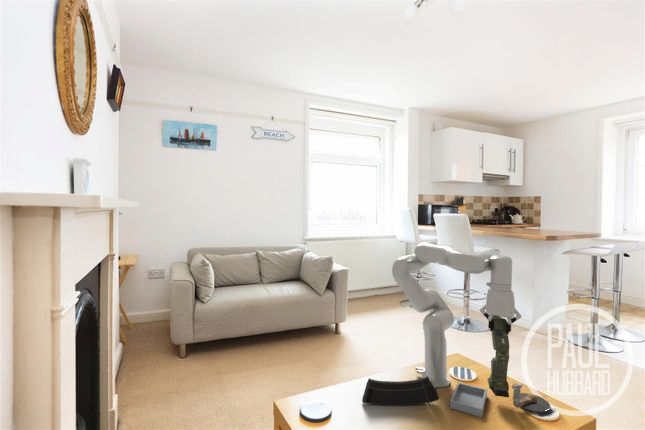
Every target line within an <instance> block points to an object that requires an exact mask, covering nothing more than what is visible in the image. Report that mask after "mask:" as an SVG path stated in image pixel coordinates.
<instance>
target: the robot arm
mask: <svg viewBox="0 0 645 430" xmlns="http://www.w3.org/2000/svg"><path fill="white" fill-rule="evenodd" d="M431 263H432V264H437V265H439V266H440V265H441V266H446V267H448V268H450V269H452V270H456V271H458V272H462V273H468V274H473V275H479V274H482V273H485V272H488V271H489V272H490V281H489V282H486V286H487V287H489V288H488V289H487V292H486V302H485V305H483V306H482V307H481V308H480V309H479V312H480V313H481V314H482V315H483V316H484V317H485V318H486V320H487V321H488V325H487V326H488V328H489V331H490V332H492V330H493V320H492V316H493V315H494V316H499V317H502V318H506V320H507V334H508V335H509V334H510V332H512V324H513V323H515V322H517V321H518V320H520V319H521V318H522V314H521V313H520V312H519V311H518V310H517V308H516V307H515V306H516V305H515V294H514V293H515V292H514V291H513V290H512V283H513V279H512V278H513V259H512V258H511V257H509V256H507V255H497V254H496V255H495V254H492V253H491V254H490V253H487V252H480V253H476V254H467V253H461V252H458V251H455V250H454V249H453V247H451V246H448V245H441V244H438V243H437V242H435V241H426V242H425V241H423V242H421V243H418V244H417V245H416V246H415V247H414V252H413V253H412V254H409V255H404V256H400V257H398V258H397V259H396V260H395V261H394V262H393V264H392V267H391V274H392V277H393V279H394V281H395V282H396V284H397V285H398V286H399V288H400V289H401V290H402V291H403V293H404V295H405V297H406V298H407V300H408V301H409V303H410V305H412V307H413V309H414V310H415V311H416V312H418V313H426V312H429V313H428V314H426V316H425V317H424V318H423V319H422V320H423V321H422V329H423V335H424V367H419V366H415V371H416V373H417V374H419V375H421V376H420V377H421V378H426V376H428V378H429V380H430V382H431V380H432V382H433V384H434V386H435V388H438V389H439V388H446V387H448V386H449V385H450V383H451V379H450V378H449V377H448V375H447V359H448V358H447V357H448V356H447V353H448V352H447V348H448V347H447V339H446V334H445V332H446V331H447V330H448V329H450V328H451V327H453V325H454V323H455V317H454V314H453V312H452V310H451V309H450V307H449V306H448V304H447V303H446V302H445V300H444V299H443V297H441V295H440V294H439V293H438V292H437V291H436V290H435V289H432V288H425V289H424V288H423V287H422V285H421V284H420V283H419V281H418V280H417V279H416V278H415V277H413V276H412V274H411V273H415V272H419V271H420V270H422V269H423V268H425V267H427V266H428V265H429V264H431ZM421 378H420V379H421Z"/></svg>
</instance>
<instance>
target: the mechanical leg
mask: <svg viewBox="0 0 645 430" xmlns="http://www.w3.org/2000/svg"><path fill="white" fill-rule="evenodd" d="M492 320H493V330H492V331H491V339H492V347H493V350H494V351H495V357H494V356H493V357H492V359H491V360H490V371H491V373H490V376H489V377H488V378H487V383H488V388H489V390H491V392H492V393H493V394H494V396H495V397H502V398H510V393H509V390H510V385H509V384H510V383H509V382H508V378H507V377H508V369H509V368H508V366H509V360H510V340H509V339H510V338H509V334H507V322H508V320H507V318H505V317H501V316H494V315H493V316H492Z"/></svg>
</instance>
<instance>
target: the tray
mask: <svg viewBox="0 0 645 430" xmlns="http://www.w3.org/2000/svg"><path fill="white" fill-rule="evenodd" d="M487 398H488V389H486V388H483V387H479V386H475V385H470V384H466V383H462V382H457V383H456V386H455V388H454V391H453V393H452V396H451V398H450V402H449V407H450V408H449V409H450V410H453V411H456V412H460V413H462V414H463V413H464V414H467V415H471V416H474V417H478V418H480V419H481V418H483V416H484V411H485V408H486V403H487Z"/></svg>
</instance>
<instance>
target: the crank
mask: <svg viewBox="0 0 645 430" xmlns="http://www.w3.org/2000/svg"><path fill="white" fill-rule="evenodd" d="M522 388H523V384H521V382H520V383H519V382H518V383H515V384H512V385H511V389H513V390H512V391H513V392H512V393H513V398H512V399H513V400H512V401H513V404H512V405H513V406H514V407H515V408H520V406H521V405H524V404H527V403H530V402H532V403H537V400H538V397H537V396H538V395H537V396H536V394H533V393H529V394H527V397H524V398H521V399H520V393H521V389H522Z"/></svg>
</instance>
